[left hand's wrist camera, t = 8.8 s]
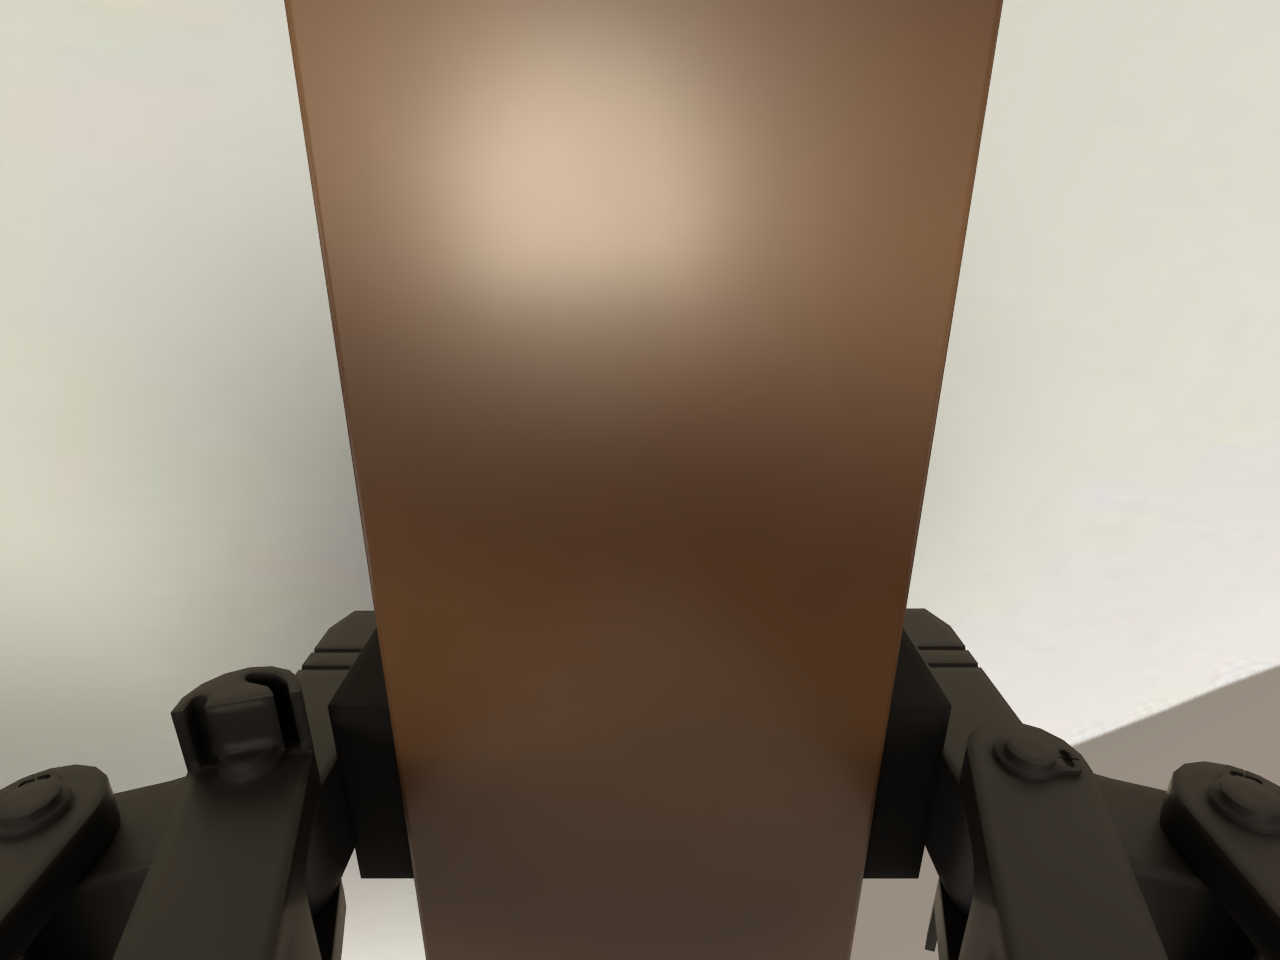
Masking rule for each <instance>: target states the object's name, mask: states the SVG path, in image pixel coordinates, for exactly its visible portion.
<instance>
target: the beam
mask: <svg viewBox="0 0 1280 960" xmlns="http://www.w3.org/2000/svg"><path fill="white" fill-rule="evenodd" d="M284 2H285V9H286V16H287V22H288V29H289V36H290V43H291V49H292V56H293V63H294V70H295V76H296V83H297V90H298V97H299V103H300V110H301V117H302V124H303V130H304V137H305V144H306V151H307V157H308V164H309V171H310V178H311V185H312V191H313V198H314V205H315V212H316V218H317V225H318V232H319V239H320V245H321V252H322V259H323V266H324V272H325V279H326V286H327V293H328V299H329V306H330V313H331V320H332V326H333V333H334V340H335V347H336V353H337V360H338V367H339V374H340V381H341V387H342V394H343V401H344V408H345V414H346V421H347V428H348V435H349V441H350V448H351V455H352V462H353V468H354V475H355V482H356V489H357V495H358V502H359V509H360V516H361V522H362V529H363V536H364V543H365V549H366V556H367V563H368V570H369V576H370V583H371V590H372V597H373V604H374V610H375V617H376V624H377V631H378V637H379V644H380V651H381V658H382V664H383V671H384V678H385V685H386V691H387V698H388V705H389V712H390V718H391V725H392V732H393V739H394V745H395V752H396V759H397V766H398V772H399V779H400V786H401V793H402V799H403V806H404V813H405V820H406V827H407V833H408V840H409V847H410V854H411V860H412V867H413V874H414V881H415V887H416V894H417V901H418V908H419V914H420V921H421V928H422V935H423V941H424V948H425V955H426V960H850V956H851V949H852V943H853V937H854V931H855V924H856V918H857V912H858V906H859V899H860V893H861V887H862V881H863V874H864V868H865V862H866V856H867V849H868V843H869V837H870V831H871V824H872V818H873V812H874V806H875V799H876V793H877V787H878V780H879V774H880V768H881V762H882V755H883V749H884V743H885V737H886V730H887V724H888V718H889V712H890V705H891V699H892V693H893V687H894V680H895V674H896V668H897V662H898V655H899V649H900V643H901V637H902V630H903V624H904V618H905V611H906V605H907V599H908V593H909V586H910V580H911V574H912V568H913V561H914V555H915V549H916V543H917V536H918V530H919V524H920V518H921V511H922V505H923V499H924V493H925V486H926V480H927V474H928V467H929V461H930V455H931V449H932V442H933V436H934V430H935V424H936V417H937V411H938V405H939V399H940V392H941V386H942V380H943V374H944V367H945V361H946V355H947V349H948V342H949V336H950V330H951V323H952V317H953V311H954V305H955V298H956V292H957V286H958V280H959V273H960V267H961V261H962V255H963V248H964V242H965V236H966V230H967V223H968V217H969V211H970V205H971V198H972V192H973V186H974V179H975V173H976V167H977V161H978V154H979V148H980V142H981V136H982V129H983V123H984V117H985V111H986V104H987V98H988V92H989V86H990V79H991V73H992V67H993V61H994V54H995V48H996V42H997V36H998V29H999V23H1000V17H1001V10H1002V4H1003V0H284Z"/></svg>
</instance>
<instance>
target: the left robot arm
mask: <svg viewBox="0 0 1280 960" xmlns="http://www.w3.org/2000/svg"><path fill="white" fill-rule="evenodd" d="M171 716H172V719H173V723H174V726H175V729H176V733H177V736H178V740H179V743H180V746H181V750H182V753H183V757H184V760H185V763H186V767H187V770H188V773H187V775H186V777H183V778H179V779H176V780H172V781H169V782H164V783H160V784H156V785H151V786H147V787H142V788H138V789H133V790H129V791H125V792H120V793H116V794H113V792H112V789H111V786H110V783H109V780H108V777H107V775H105V774H104V773H103V772H102V771H100V770H99V769H98V768H96V767H92V766H84V765H70V766H64V767H57V768H51V769H48V770H45V771H42V772H38V773H36V774H32V775H30V776H27V777H25V778H22V779H20V780H18V781H16V782H14V783H12V784H11V785H9V786H7V787H5V788H3V789H1V790H0V960H341V954H342V944H343V934H344V924H345V914H346V902H345V895H344V889H343V885H342V880H341V877H342V875H343V873H344V870H345V868H346V866H347V864H348V861H349V859H350V857H351V855H352V852H353V850H354V848H355V850H356V855H357V860H358V865H359V870H360V875H361V878H414V874H413V867H412V860H411V854H410V847H409V840H408V833H407V827H406V820H405V813H404V806H403V799H402V793H401V786H400V779H399V772H398V766H397V759H396V752H395V745H394V739H393V732H392V725H391V718H390V712H389V705H388V698H387V691H386V685H385V678H384V671H383V664H382V658H381V651H380V644H379V637H378V631H377V624H376V617H375V611H354V612H352V613H351V614H350V615H348V616H347V617H345V618H344V619H342V620H341V621H339V622H338V623H336V624H335V625H334V626H332V627H331V628H329V630H328V631H327V632H326V634H325V635H324V636H323V638H322V639H321V640H320V642H319V643H318V645H317V646H316V647H315V651H314V653H311V654H310V655H309V657H308V658H307V660H306V661H305V662H304V664H303V665H302V670H298V672H297V673H296V674H295V675H294V674H293V673H292V672H291V671H290V670H286V669H282V668H277V667H272V666H269V667H250V668H246V669H242V670H238V671H234V672H230V673H226V674H223V675H221V676H219V677H217V678H214V679H212V680H210V681H208V682H205V683H203V684H201V685H200V686H199V687H197V688H196V689H194V690H193V691H191V692H190V693H189V694H187V695H186V696H184V697H183V698H182V699H181V700H180V702H179V703H178V704H177V705H176V707H175V708H174V709H173V711H172V712H171ZM924 846H926V848H927V850H928V853H929V855H930V857H931V859H932V862H933V864H934V866H935V868H936V871H937V873H938V875H939V880H938V885H937V890H936V894H935V899H934V904H933V909H932V913H931V918H930V923H929V928H928V933H927V939H926V945H925V949H926V950H930V951H935V946H936V942H938V952H939V960H1280V786H1278V785H1276V784H1274V783H1272V782H1270V781H1268V780H1266V779H1265V778H1263V777H1261V776H1259V775H1256V774H1254V773H1251V772H1249V771H1244V770H1243V769H1239V768H1236V767H1233V766H1230V765H1224V764H1217V763H1211V762H1196V763H1187V764H1184V765H1182V766H1181V767H1180V768H1178V769H1177V770H1176V771H1175V772H1173V775H1172V778H1171V781H1170V784H1169V786H1168V789H1167V791H1164V790H1160V789H1155V788H1151V787H1146V786H1142V785H1138V784H1133V783H1128V782H1124V781H1120V780H1115V779H1111V778H1107V777H1104V776H1100V775H1097V774H1094V773H1093V772H1092V770H1091V768H1090V767H1089V765H1088V764H1087V762H1086V761H1085V760H1084V758H1083V757H1082V755H1081V754H1080V753H1079V752H1077V751H1076V750H1075V749H1074V748H1072V747H1071V746H1070V745H1069V744H1067V743H1066V742H1065V741H1064V740H1062V739H1060V738H1058V737H1056V736H1054V735H1052V734H1050V733H1048V732H1046V731H1044V730H1042V729H1040V728H1037V727H1033V726H1030V725H1026V724H1023V723H1022V722H1021V721H1020V720H1019V718H1018V717H1017V716H1016V714H1015V713H1014V711H1013V710H1012V709H1011V707H1010V706H1009V705H1008V703H1007V702H1006V701H1005V699H1004V698H1003V697H1002V695H1001V694H1000V693H999V691H998V690H997V689H996V687H995V686H994V684H993V683H992V682H991V680H990V679H989V678H988V676H987V675H986V674H985V672H984V671H983V670H982V668H978V663H977V662H976V660H975V659H974V657H973V656H972V655H971V653H970V652H969V651H968V650H965V645H964V644H963V643H962V641H961V640H960V639H959V637H958V636H957V635H956V633H955V632H954V630H953V629H952V628H951V626H949V625H948V624H946V623H945V622H944V621H942V620H941V619H939V618H938V617H936V616H935V615H933V614H932V613H930V612H929V611H927V610H926V609H906V611H905V618H904V624H903V630H902V637H901V643H900V649H899V655H898V662H897V668H896V674H895V680H894V687H893V693H892V699H891V705H890V712H889V718H888V724H887V730H886V737H885V743H884V749H883V755H882V762H881V768H880V774H879V780H878V787H877V793H876V799H875V806H874V812H873V818H872V824H871V831H870V837H869V843H868V849H867V856H866V862H865V868H864V874H863V878H918V877H919V872H920V867H921V862H922V857H923V852H924Z"/></svg>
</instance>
